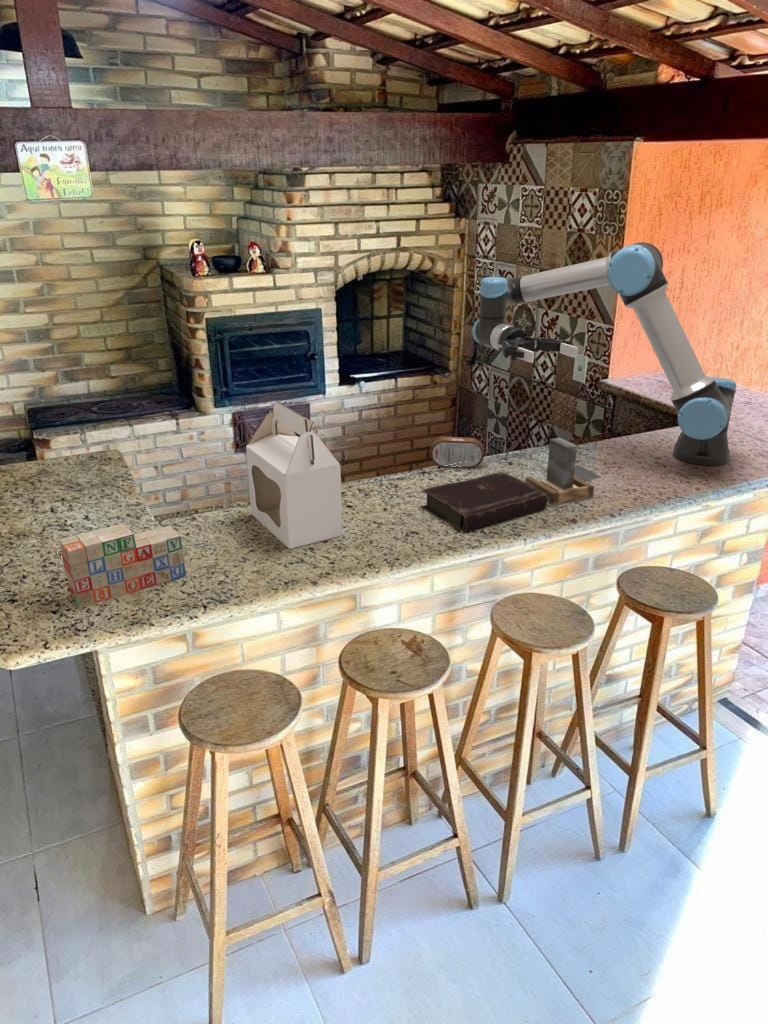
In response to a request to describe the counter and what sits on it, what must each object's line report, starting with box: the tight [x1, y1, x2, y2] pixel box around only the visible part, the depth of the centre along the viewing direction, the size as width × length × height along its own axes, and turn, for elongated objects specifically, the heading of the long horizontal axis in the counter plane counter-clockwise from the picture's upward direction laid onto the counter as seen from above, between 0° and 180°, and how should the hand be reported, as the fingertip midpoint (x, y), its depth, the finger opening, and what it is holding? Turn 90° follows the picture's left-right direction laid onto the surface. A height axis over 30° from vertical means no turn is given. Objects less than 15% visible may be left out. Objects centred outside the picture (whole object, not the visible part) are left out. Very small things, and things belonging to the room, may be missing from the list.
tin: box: [429, 436, 486, 469], centre depth 210 cm, size 15×3×8 cm, turn 84°
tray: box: [525, 476, 595, 506], centre depth 193 cm, size 12×12×3 cm
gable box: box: [245, 400, 343, 550], centre depth 171 cm, size 22×13×28 cm, turn 31°
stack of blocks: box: [59, 523, 187, 608], centre depth 149 cm, size 21×6×12 cm, turn 125°
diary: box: [420, 471, 548, 533], centre depth 185 cm, size 19×25×5 cm
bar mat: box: [574, 464, 602, 482], centre depth 206 cm, size 10×10×1 cm
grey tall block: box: [539, 437, 578, 492], centre depth 191 cm, size 6×8×13 cm
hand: (554, 355), depth 195 cm, fingers open, 13 cm apart
